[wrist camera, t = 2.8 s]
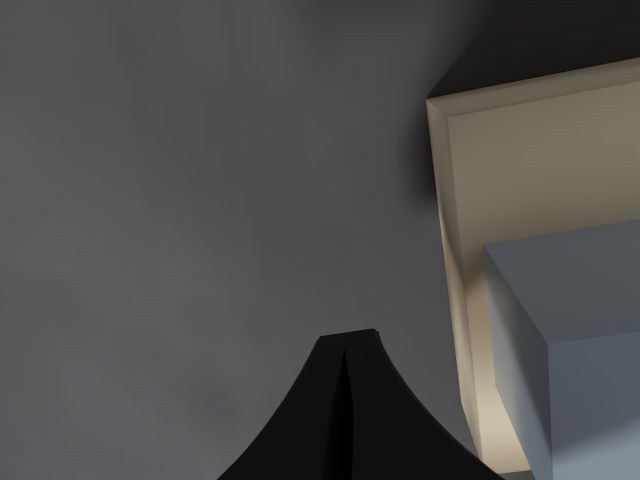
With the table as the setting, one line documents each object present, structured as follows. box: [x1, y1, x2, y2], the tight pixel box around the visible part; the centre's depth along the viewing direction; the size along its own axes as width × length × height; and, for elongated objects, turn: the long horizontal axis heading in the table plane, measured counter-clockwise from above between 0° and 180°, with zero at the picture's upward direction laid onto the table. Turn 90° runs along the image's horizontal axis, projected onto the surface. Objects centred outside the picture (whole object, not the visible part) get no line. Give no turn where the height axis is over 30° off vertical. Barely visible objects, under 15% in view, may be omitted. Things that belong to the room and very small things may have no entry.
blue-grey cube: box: [483, 219, 640, 480], centre depth 10 cm, size 4×4×4 cm
